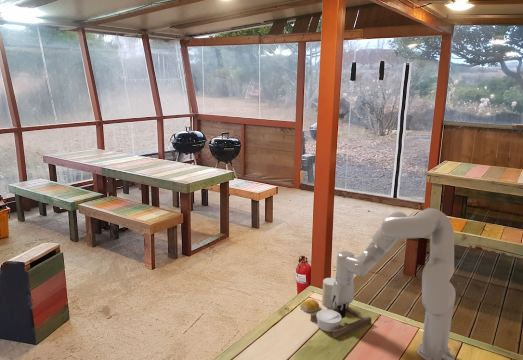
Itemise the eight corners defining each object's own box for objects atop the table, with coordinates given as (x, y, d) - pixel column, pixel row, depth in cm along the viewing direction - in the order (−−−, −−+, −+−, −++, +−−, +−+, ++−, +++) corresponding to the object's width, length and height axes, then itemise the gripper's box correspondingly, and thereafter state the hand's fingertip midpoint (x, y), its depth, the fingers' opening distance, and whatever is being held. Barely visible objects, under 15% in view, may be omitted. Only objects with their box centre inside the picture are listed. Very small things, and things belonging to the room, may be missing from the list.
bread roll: (322, 309, 204) (322, 301, 203) (308, 314, 199) (309, 307, 198) (310, 302, 211) (310, 294, 210) (297, 307, 205) (297, 299, 204)
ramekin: (339, 335, 182) (340, 324, 181) (313, 330, 186) (314, 319, 184) (342, 322, 193) (343, 311, 191) (318, 317, 196) (318, 307, 195)
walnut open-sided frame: (370, 323, 192) (371, 317, 191) (334, 338, 180) (334, 331, 180) (346, 308, 205) (346, 302, 204) (310, 320, 193) (310, 314, 193)
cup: (318, 301, 211) (319, 279, 208) (332, 298, 214) (333, 276, 211) (327, 309, 203) (329, 286, 201) (341, 306, 207) (343, 283, 204)
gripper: (350, 272, 195) (348, 308, 199) (325, 279, 188) (323, 316, 192) (362, 278, 189) (359, 316, 193) (337, 286, 182) (334, 324, 186)
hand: (341, 316), depth 192 cm, fingers closed
